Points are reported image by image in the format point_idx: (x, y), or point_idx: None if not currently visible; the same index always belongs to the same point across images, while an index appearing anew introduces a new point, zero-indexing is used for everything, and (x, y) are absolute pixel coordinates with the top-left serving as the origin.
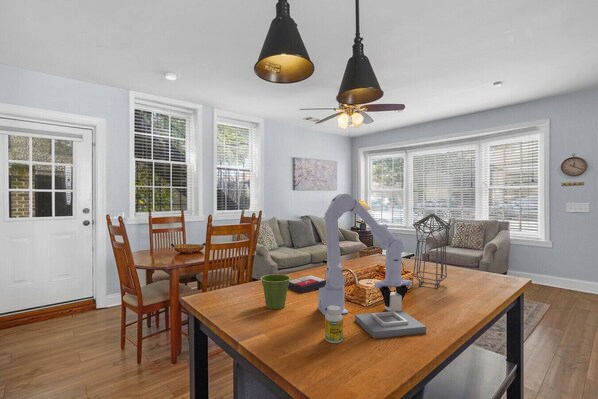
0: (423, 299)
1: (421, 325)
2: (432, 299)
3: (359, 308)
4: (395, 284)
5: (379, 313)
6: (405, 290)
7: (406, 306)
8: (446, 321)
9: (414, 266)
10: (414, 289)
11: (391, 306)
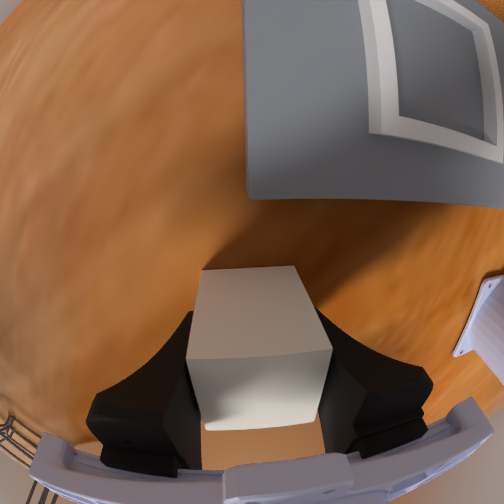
0: (40, 379)
1: None
2: (12, 366)
3: (413, 336)
4: (348, 482)
5: (477, 140)
6: (127, 399)
7: (132, 340)
8: (18, 86)
9: (55, 500)
10: (68, 440)
11: (298, 289)
